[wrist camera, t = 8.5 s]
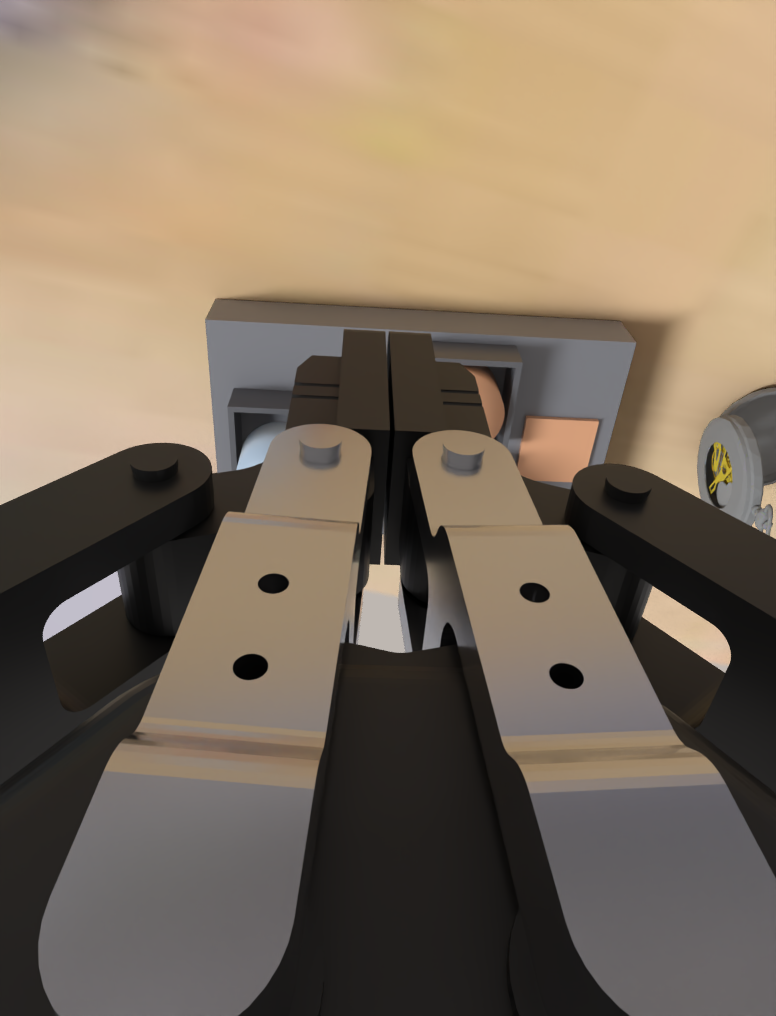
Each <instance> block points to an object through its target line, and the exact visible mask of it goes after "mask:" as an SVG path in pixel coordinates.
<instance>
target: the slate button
mask: <svg viewBox="0 0 776 1016" xmlns="http://www.w3.org/2000/svg"><path fill="white" fill-rule="evenodd" d="M286 424H287V422H271V423H267V424H264V425H262V426H260V427H258V428H256V429H255V430H254V431H252V432H251V433H250V434H249V435H248V437H247V438H246V440H245V442H244V444H243V447H242V451H241V454H240V458H239V462H238V465H237V469H236V470H240V469H245V468H248V467H252V466H255V465H257V464H260V463H262V462H264V459H265V456H266V454H267V451H268V448H269V445H270V443H271V441H272V440H273V439H274V438H275V437H276V436H277V435H278V434H280V433H281V432H283V431H285V429H286Z"/></svg>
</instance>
